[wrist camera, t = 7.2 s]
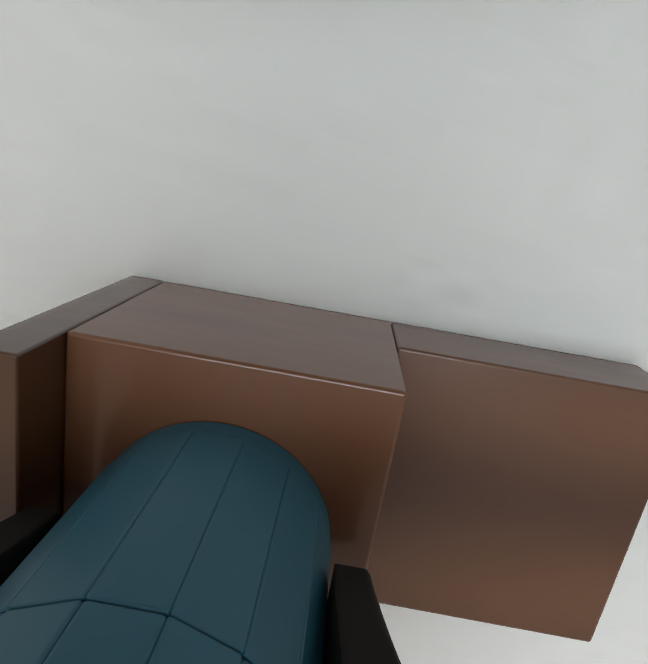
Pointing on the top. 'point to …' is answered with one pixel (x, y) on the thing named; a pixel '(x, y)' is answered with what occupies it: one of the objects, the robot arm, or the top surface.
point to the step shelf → (355, 438)
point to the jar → (179, 560)
